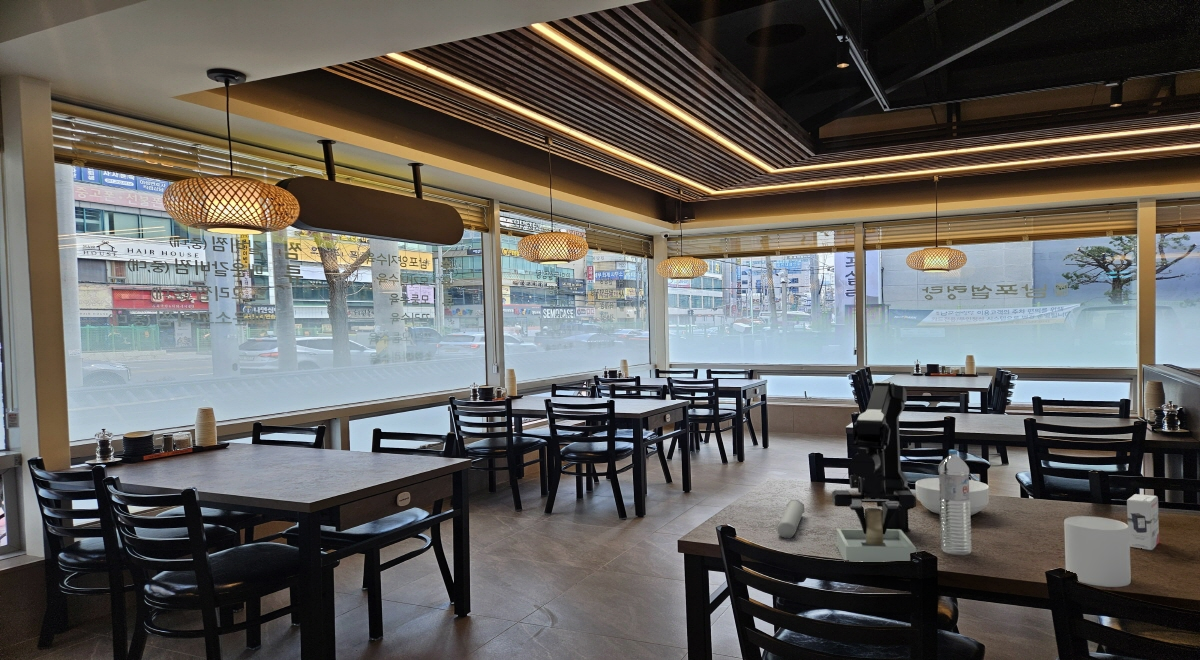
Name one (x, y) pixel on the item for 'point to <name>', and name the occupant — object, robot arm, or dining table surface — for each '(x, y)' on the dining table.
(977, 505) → the bowl
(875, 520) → the peg
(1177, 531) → the dining table surface
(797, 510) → the tube
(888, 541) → the caddy
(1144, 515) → the ink box
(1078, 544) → the cup
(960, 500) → the water bottle
